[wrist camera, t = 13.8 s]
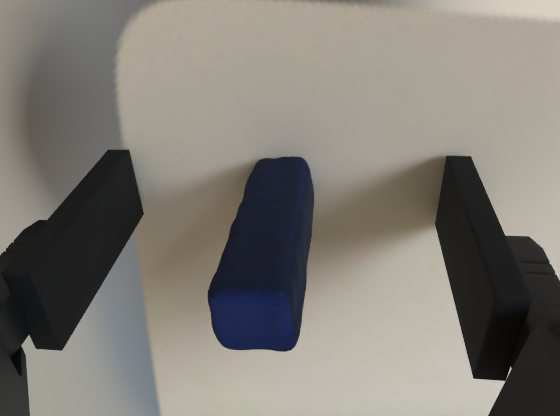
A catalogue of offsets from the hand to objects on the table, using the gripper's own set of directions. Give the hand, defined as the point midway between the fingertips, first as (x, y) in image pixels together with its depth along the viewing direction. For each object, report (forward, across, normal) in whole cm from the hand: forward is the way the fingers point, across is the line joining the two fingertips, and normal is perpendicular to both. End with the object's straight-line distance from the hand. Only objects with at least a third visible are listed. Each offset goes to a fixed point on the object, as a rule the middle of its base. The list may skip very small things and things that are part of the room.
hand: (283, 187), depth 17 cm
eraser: (0, 0, 0) cm, 0 cm away
